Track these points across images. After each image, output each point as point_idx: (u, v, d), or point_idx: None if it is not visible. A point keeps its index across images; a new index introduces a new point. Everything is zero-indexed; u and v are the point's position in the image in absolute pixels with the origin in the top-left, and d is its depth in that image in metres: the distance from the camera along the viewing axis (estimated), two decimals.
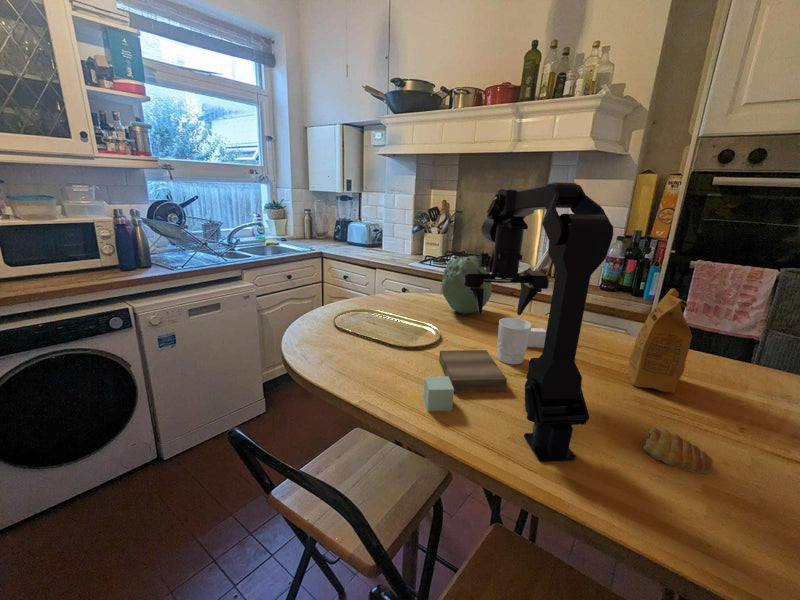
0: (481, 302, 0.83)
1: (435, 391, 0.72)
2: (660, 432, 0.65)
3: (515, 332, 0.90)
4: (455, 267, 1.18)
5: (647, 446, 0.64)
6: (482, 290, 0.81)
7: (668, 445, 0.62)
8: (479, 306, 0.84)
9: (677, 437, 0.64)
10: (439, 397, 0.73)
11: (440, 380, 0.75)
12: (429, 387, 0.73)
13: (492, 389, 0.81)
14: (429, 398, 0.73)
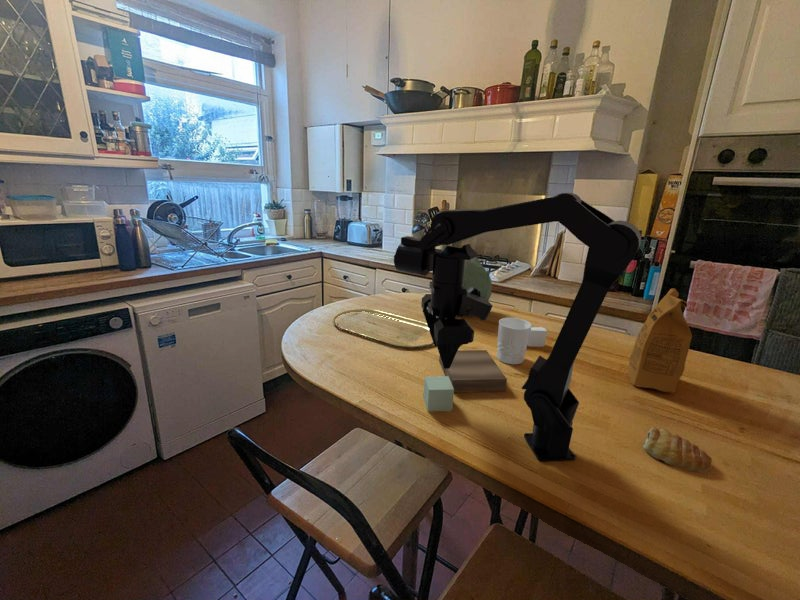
0: (429, 330, 0.76)
1: (435, 391, 0.72)
2: (659, 431, 0.65)
3: (515, 332, 0.90)
4: None
5: (647, 445, 0.64)
6: (424, 315, 0.75)
7: (667, 445, 0.62)
8: (431, 335, 0.77)
9: (676, 436, 0.64)
10: (439, 397, 0.73)
11: (440, 380, 0.75)
12: (429, 387, 0.73)
13: (492, 389, 0.81)
14: (429, 398, 0.73)
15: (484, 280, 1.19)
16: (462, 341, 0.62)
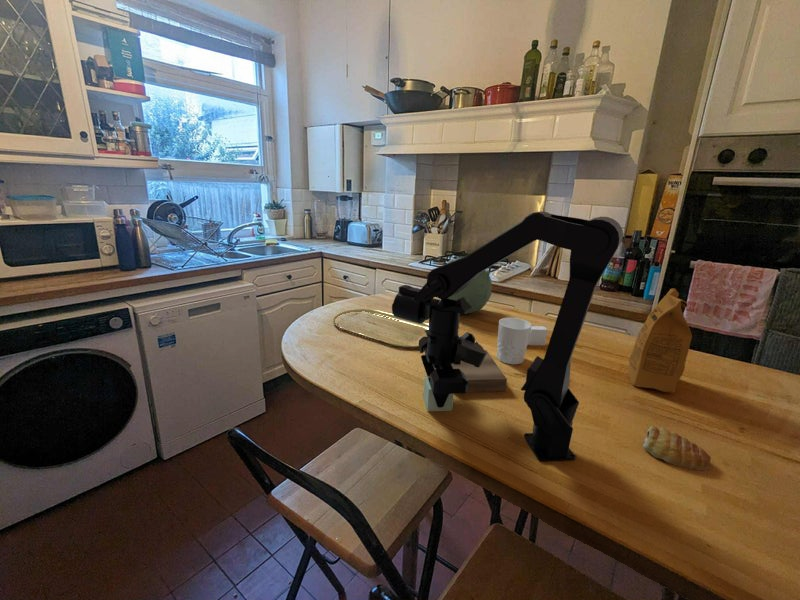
0: None
1: None
2: (659, 430, 0.66)
3: (515, 332, 0.90)
4: None
5: (646, 444, 0.64)
6: None
7: (667, 443, 0.63)
8: None
9: (676, 435, 0.64)
10: None
11: None
12: (429, 387, 0.73)
13: (492, 389, 0.81)
14: (429, 398, 0.73)
15: (484, 280, 1.19)
16: (457, 392, 0.65)
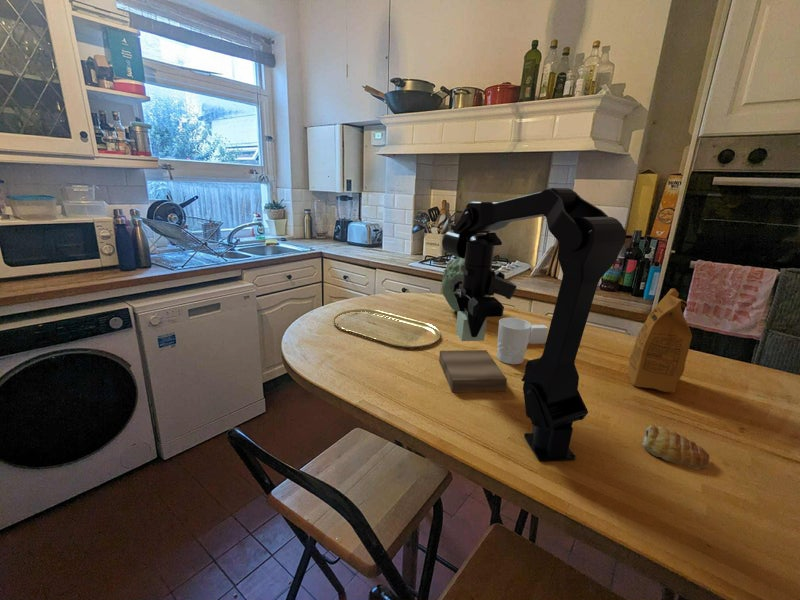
0: None
1: None
2: (658, 429, 0.66)
3: (515, 332, 0.90)
4: (455, 267, 1.18)
5: (646, 443, 0.64)
6: (456, 298, 0.83)
7: (666, 442, 0.63)
8: None
9: (674, 433, 0.65)
10: None
11: None
12: (464, 318, 0.79)
13: (492, 389, 0.81)
14: (464, 328, 0.79)
15: None
16: (494, 315, 0.72)
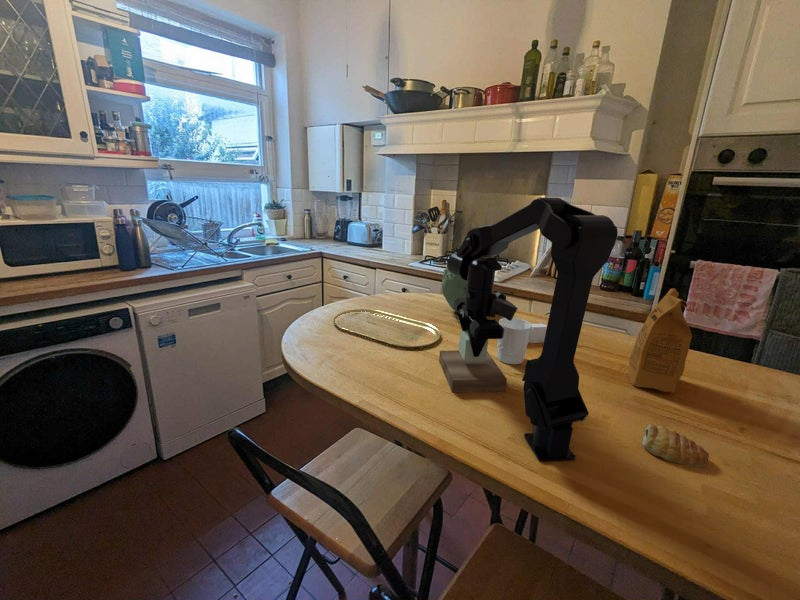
0: None
1: None
2: (657, 428, 0.66)
3: (515, 332, 0.90)
4: None
5: (646, 443, 0.65)
6: (459, 319, 0.86)
7: (666, 441, 0.63)
8: None
9: (674, 433, 0.65)
10: None
11: None
12: (466, 338, 0.82)
13: (492, 389, 0.81)
14: (466, 348, 0.82)
15: None
16: (494, 337, 0.74)
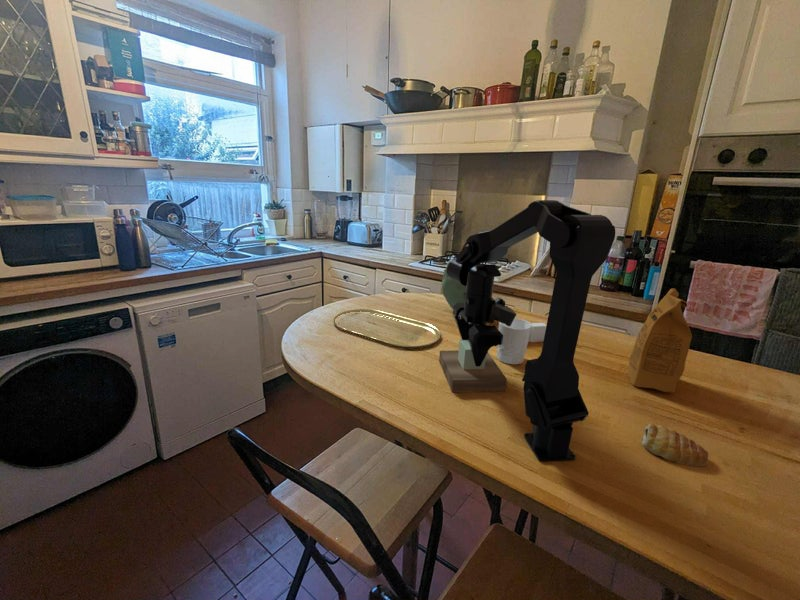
0: (460, 334, 0.89)
1: None
2: (657, 427, 0.66)
3: (515, 332, 0.90)
4: None
5: (646, 442, 0.65)
6: (456, 321, 0.89)
7: (666, 441, 0.63)
8: (461, 337, 0.90)
9: (674, 432, 0.65)
10: None
11: None
12: (465, 347, 0.83)
13: (492, 389, 0.81)
14: (465, 357, 0.83)
15: None
16: (493, 343, 0.75)
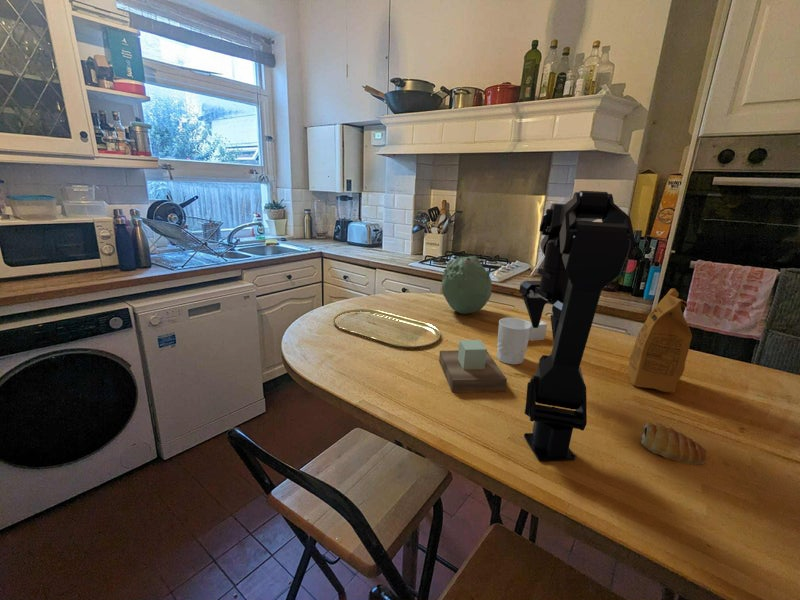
0: (529, 313, 0.85)
1: (471, 350, 0.83)
2: (656, 426, 0.67)
3: (515, 332, 0.90)
4: (455, 267, 1.18)
5: (645, 441, 0.65)
6: (526, 299, 0.84)
7: (665, 439, 0.64)
8: (530, 317, 0.85)
9: (672, 430, 0.65)
10: (474, 356, 0.83)
11: (473, 343, 0.86)
12: (465, 347, 0.83)
13: (492, 389, 0.81)
14: (465, 357, 0.83)
15: (484, 280, 1.19)
16: None
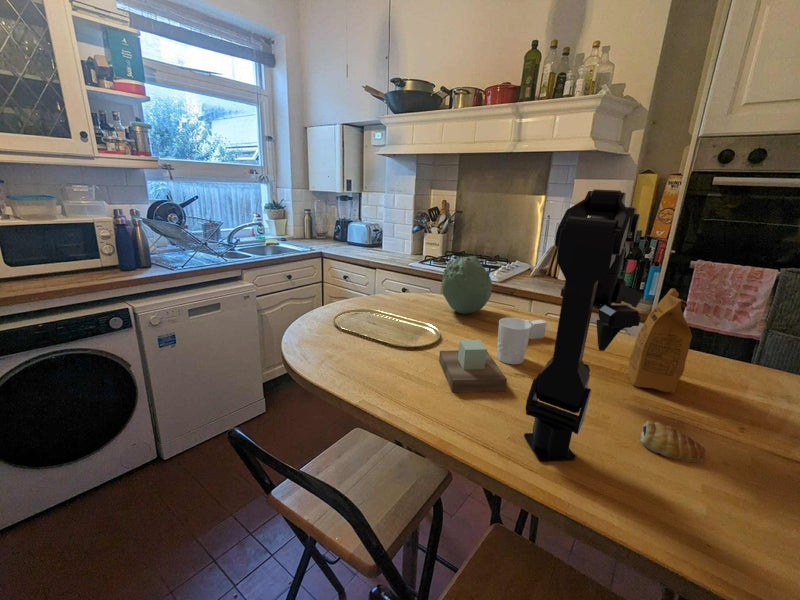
0: None
1: (471, 350, 0.83)
2: (655, 425, 0.67)
3: (515, 332, 0.90)
4: (455, 267, 1.18)
5: (644, 440, 0.65)
6: None
7: (664, 438, 0.64)
8: None
9: (671, 429, 0.66)
10: (474, 356, 0.83)
11: (473, 343, 0.86)
12: (465, 347, 0.83)
13: (492, 389, 0.81)
14: (465, 357, 0.83)
15: (484, 280, 1.19)
16: (631, 324, 0.68)
